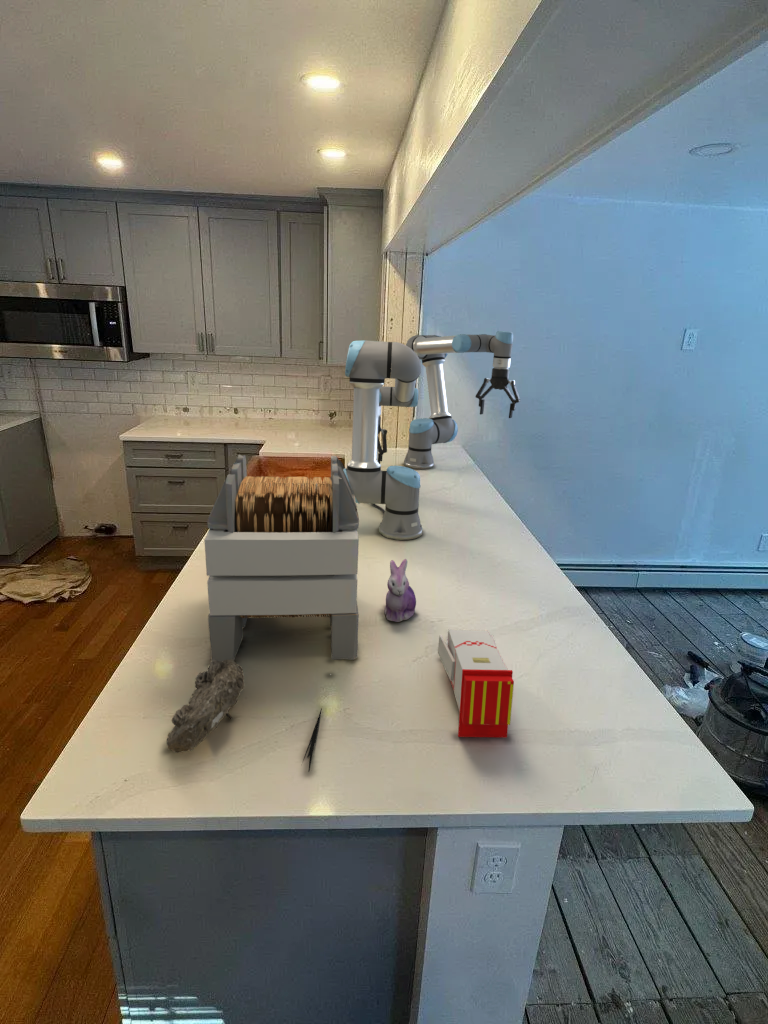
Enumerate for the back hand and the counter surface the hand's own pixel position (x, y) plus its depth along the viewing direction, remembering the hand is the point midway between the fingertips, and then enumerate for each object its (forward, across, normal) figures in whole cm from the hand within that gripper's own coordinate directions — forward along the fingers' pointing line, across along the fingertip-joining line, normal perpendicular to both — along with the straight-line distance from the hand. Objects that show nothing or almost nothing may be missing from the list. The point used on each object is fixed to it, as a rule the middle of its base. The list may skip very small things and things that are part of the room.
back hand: (495, 416), depth 258 cm
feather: (+31, +25, -178) cm, 182 cm away
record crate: (+31, -1, -153) cm, 156 cm away
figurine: (+31, +20, -134) cm, 139 cm away
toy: (+31, +47, -154) cm, 164 cm away
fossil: (+31, +7, -188) cm, 190 cm away
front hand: (+22, -40, -45) cm, 63 cm away
